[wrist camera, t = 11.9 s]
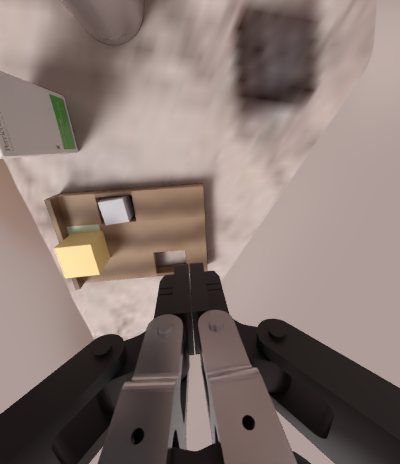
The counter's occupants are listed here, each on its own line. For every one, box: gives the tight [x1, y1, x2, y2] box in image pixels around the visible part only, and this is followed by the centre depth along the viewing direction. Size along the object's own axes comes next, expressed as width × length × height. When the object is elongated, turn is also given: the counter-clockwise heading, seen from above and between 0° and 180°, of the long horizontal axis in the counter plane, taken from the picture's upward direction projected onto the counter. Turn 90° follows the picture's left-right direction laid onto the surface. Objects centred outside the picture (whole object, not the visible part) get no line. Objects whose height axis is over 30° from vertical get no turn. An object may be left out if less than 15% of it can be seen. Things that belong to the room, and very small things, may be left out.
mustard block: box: [54, 231, 110, 278], centre depth 36 cm, size 6×6×6 cm
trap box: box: [44, 183, 207, 290], centre depth 39 cm, size 17×25×4 cm
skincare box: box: [0, 71, 78, 159], centre depth 26 cm, size 8×7×16 cm
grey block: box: [98, 195, 134, 225], centre depth 37 cm, size 4×4×4 cm
